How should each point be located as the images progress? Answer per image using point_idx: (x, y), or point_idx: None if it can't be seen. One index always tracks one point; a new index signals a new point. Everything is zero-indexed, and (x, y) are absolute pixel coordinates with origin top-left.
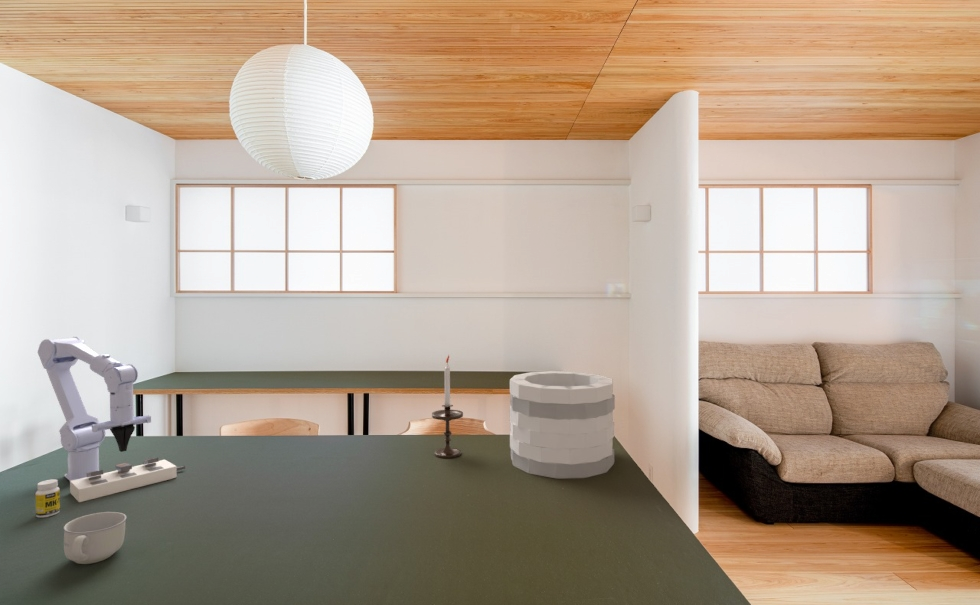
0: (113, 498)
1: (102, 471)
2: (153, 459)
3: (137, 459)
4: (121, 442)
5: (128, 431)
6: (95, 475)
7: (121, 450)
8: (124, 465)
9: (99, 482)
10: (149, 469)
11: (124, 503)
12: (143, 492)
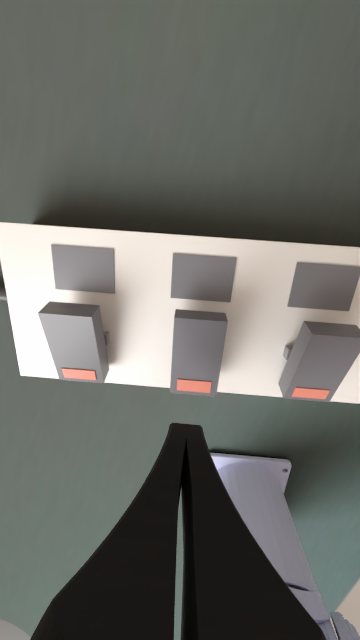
0: (292, 174)
1: (311, 329)
2: (65, 311)
3: (87, 512)
4: (207, 481)
5: (135, 599)
6: (338, 324)
7: (200, 431)
8: (197, 347)
9: (326, 277)
10: (107, 280)
11: (301, 40)
12: (187, 138)
